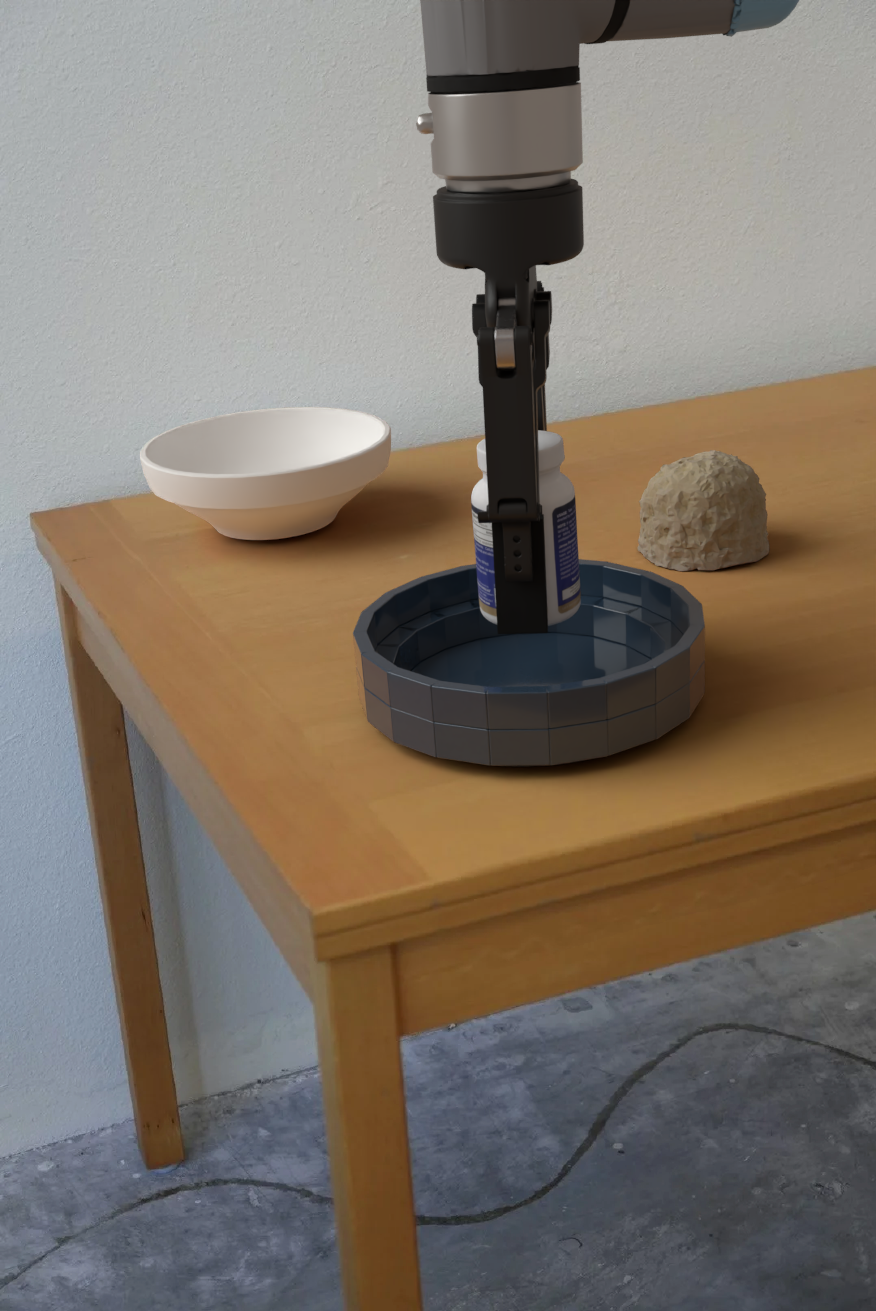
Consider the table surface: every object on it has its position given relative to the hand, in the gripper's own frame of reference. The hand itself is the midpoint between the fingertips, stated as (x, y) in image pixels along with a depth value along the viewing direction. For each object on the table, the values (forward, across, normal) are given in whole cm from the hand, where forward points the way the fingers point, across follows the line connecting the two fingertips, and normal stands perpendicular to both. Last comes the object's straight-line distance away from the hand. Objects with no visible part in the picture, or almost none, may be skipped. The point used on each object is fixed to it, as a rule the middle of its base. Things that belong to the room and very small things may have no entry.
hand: (526, 607), depth 83 cm
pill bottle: (0, 0, 0) cm, 0 cm away
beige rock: (+6, -24, +11) cm, 27 cm away
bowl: (+6, -32, -22) cm, 40 cm away
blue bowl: (+6, 0, 0) cm, 6 cm away
